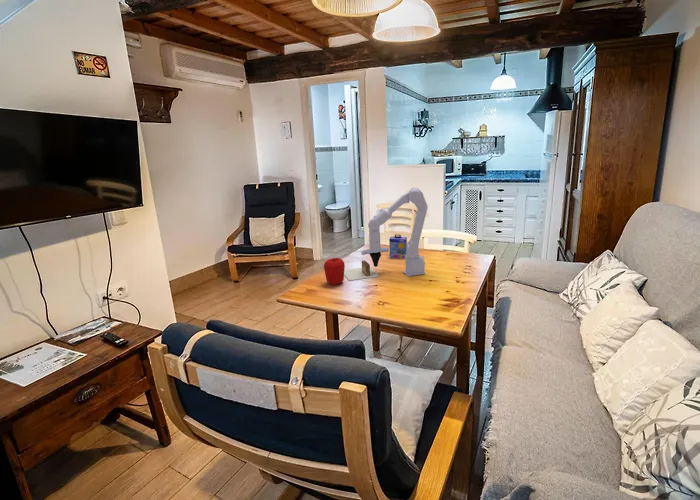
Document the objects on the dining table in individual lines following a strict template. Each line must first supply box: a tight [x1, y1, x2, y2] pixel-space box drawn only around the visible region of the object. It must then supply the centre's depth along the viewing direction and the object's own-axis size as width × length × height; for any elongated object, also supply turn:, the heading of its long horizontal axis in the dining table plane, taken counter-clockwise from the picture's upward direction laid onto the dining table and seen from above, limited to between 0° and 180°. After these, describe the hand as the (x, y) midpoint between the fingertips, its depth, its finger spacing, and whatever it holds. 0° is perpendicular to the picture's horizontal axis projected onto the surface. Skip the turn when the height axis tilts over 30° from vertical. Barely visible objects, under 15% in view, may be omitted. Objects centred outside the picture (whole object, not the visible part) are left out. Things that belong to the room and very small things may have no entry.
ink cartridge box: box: [388, 234, 408, 260], centre depth 227 cm, size 10×6×14 cm, turn 74°
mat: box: [344, 267, 380, 282], centre depth 204 cm, size 16×16×1 cm
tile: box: [361, 260, 371, 276], centre depth 202 cm, size 2×8×6 cm, turn 15°
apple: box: [323, 257, 345, 286], centre depth 191 cm, size 11×10×14 cm
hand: (375, 266), depth 203 cm, fingers closed
